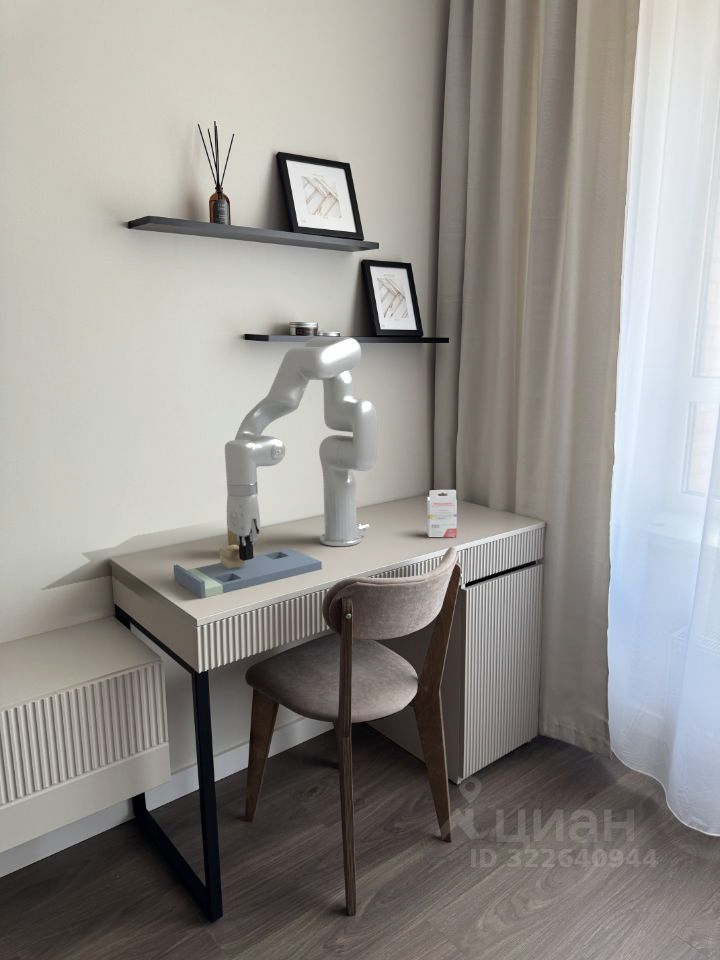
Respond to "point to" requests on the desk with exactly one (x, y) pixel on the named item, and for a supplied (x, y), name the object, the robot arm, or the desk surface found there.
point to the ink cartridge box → (442, 513)
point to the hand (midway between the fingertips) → (246, 559)
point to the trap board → (245, 572)
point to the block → (230, 556)
